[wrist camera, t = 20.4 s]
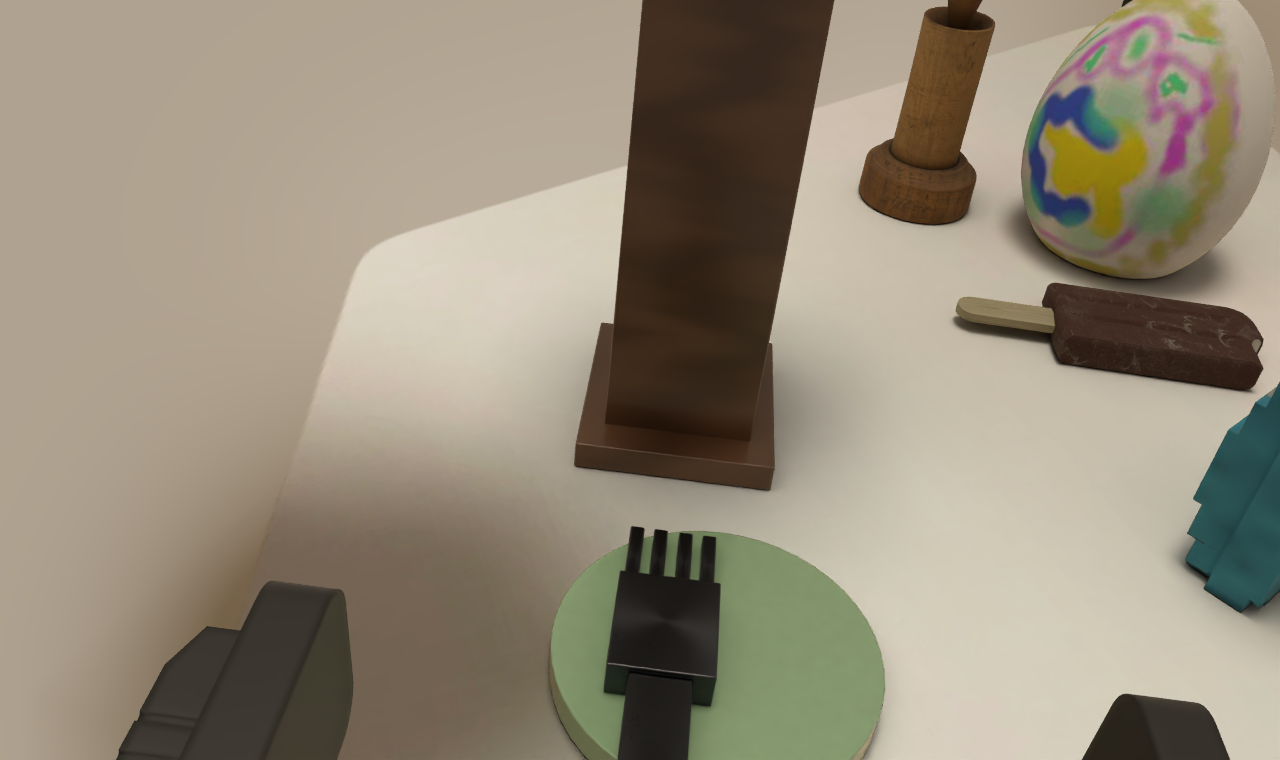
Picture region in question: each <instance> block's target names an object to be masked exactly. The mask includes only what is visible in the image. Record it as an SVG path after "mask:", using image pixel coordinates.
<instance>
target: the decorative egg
mask: <svg viewBox="0 0 1280 760" xmlns="http://www.w3.org/2000/svg"><path fill="white" fill-rule="evenodd" d="M1274 119H1275V88H1274V79H1273V73H1272V68H1271V63H1270V59H1269V56H1268V52H1267V49H1266V46H1265V44H1264V41H1263V38H1262V36H1261V34H1260V32H1259V30H1258V28H1257V26H1256V24H1255V23H1254V21H1253V19H1252V17H1251V16H1250V14H1249V13H1248V12H1247V11H1246V9H1245V8H1244V7H1243V6H1242V5H1241V4H1240V3H1239V2H1238V1H1237V0H1133V1H1131V2H1129V3H1128V4H1126V5H1125V6H1123V7H1122V8H1120V9H1119V10H1117V11H1116V12H1114V13H1113V14H1111V15H1110V16H1109V17H1108V18H1106V19H1105V20H1104V21H1102V22H1101V23H1100V24H1099V25H1098V26H1096V27H1095V28H1094V29H1093V30H1092V31H1091V32H1090V33H1089V34H1088V35H1087V36H1086V37H1085V38H1084V39H1083V40H1082V41H1081V42H1080V43H1079V44H1078V45H1077V46H1076V48H1075V49H1074V50H1073V51H1072V52H1071V53H1070V55H1069V56H1068V57H1067V58H1066V60H1065V61H1064V62H1063V64H1062V65H1061V66H1060V68H1059V69H1058V71H1057V72H1056V74H1055V75H1054V77H1053V78H1052V80H1051V81H1050V83H1049V85H1048V87H1047V88H1046V90H1045V92H1044V94H1043V96H1042V98H1041V100H1040V101H1039V104H1038V106H1037V108H1036V110H1035V113H1034V115H1033V118H1032V121H1031V124H1030V126H1029V129H1028V133H1027V136H1026V140H1025V145H1024V150H1023V158H1022V168H1021V179H1022V193H1023V199H1024V203H1025V207H1026V211H1027V214H1028V217H1029V220H1030V222H1031V224H1032V227H1033V229H1034V231H1035V233H1036V234H1037V236H1038V237H1039V239H1040V240H1041V241H1042V242H1043V243H1044V244H1045V245H1046V247H1047V248H1048V249H1050V250H1051V251H1052V252H1054V253H1055V254H1057V255H1059V256H1060V257H1062V258H1063V259H1065V260H1067V261H1069V262H1071V263H1073V264H1075V265H1077V266H1079V267H1082V268H1085V269H1088V270H1091V271H1094V272H1098V273H1102V274H1105V275H1109V276H1114V277H1121V278H1130V279H1147V278H1157V277H1162V276H1165V275H1168V274H1171V273H1174V272H1176V271H1178V270H1179V269H1181V268H1183V267H1185V266H1187V265H1189V264H1191V263H1192V262H1194V261H1196V260H1197V259H1198V258H1200V257H1201V256H1203V255H1204V254H1205V253H1207V252H1208V251H1209V250H1210V249H1211V248H1213V247H1214V246H1215V245H1216V244H1217V243H1218V242H1219V241H1220V240H1221V239H1222V238H1223V237H1224V236H1225V235H1226V234H1227V233H1228V232H1229V231H1230V230H1231V229H1232V227H1233V226H1234V225H1235V223H1236V222H1237V221H1238V219H1239V218H1240V217H1241V215H1242V214H1243V212H1244V211H1245V209H1246V207H1247V206H1248V204H1249V202H1250V200H1251V198H1252V196H1253V195H1254V193H1255V191H1256V189H1257V187H1258V185H1259V182H1260V179H1261V176H1262V173H1263V171H1264V168H1265V165H1266V162H1267V159H1268V155H1269V151H1270V147H1271V141H1272V135H1273V129H1274Z"/></svg>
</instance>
